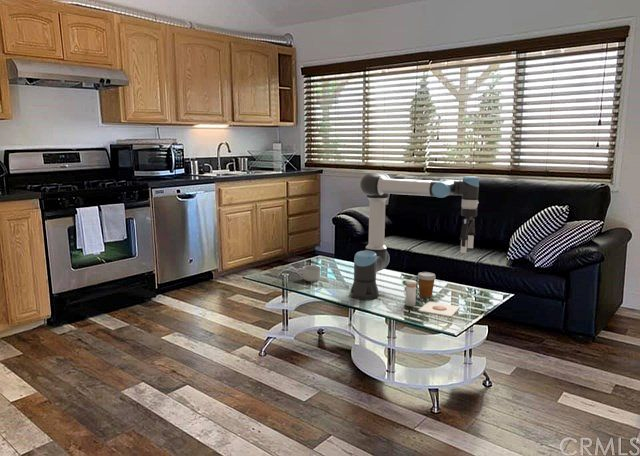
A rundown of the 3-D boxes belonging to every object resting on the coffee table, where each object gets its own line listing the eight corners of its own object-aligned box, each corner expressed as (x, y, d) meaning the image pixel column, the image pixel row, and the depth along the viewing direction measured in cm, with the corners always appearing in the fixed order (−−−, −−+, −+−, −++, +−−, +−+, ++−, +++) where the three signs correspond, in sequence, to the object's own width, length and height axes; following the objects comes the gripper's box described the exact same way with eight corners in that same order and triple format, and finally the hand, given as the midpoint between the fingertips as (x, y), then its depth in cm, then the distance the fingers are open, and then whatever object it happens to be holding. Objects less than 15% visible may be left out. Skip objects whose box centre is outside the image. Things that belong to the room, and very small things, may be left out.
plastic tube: (403, 304, 248) (404, 281, 246) (407, 302, 252) (408, 279, 250) (413, 306, 245) (414, 283, 243) (416, 303, 249) (417, 280, 247)
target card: (418, 311, 238) (418, 309, 238) (428, 302, 252) (428, 301, 252) (451, 317, 230) (451, 315, 230) (460, 307, 244) (460, 306, 244)
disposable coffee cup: (417, 298, 259) (418, 276, 257) (416, 292, 268) (417, 271, 266) (435, 299, 258) (436, 276, 256) (433, 293, 267) (435, 272, 265)
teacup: (320, 278, 296) (320, 265, 295) (320, 283, 286) (320, 269, 284) (297, 277, 297) (297, 264, 295) (296, 282, 286) (296, 269, 285)
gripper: (471, 211, 229) (468, 255, 232) (482, 206, 250) (480, 246, 253) (454, 210, 232) (452, 254, 236) (467, 205, 254) (465, 245, 257)
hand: (466, 250), depth 245 cm, fingers open, 13 cm apart
